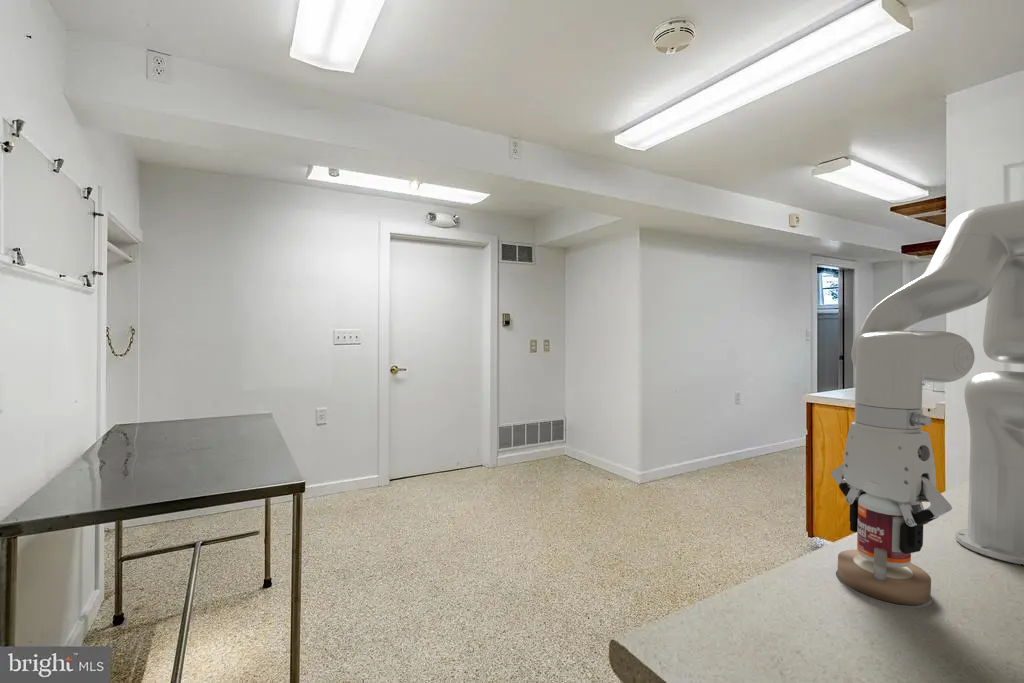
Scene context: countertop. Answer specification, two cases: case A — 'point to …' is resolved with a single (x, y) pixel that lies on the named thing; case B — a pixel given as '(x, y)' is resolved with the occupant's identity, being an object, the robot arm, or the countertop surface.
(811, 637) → the countertop surface
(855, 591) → the base
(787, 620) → the countertop surface
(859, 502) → the pill bottle
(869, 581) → the turntable
